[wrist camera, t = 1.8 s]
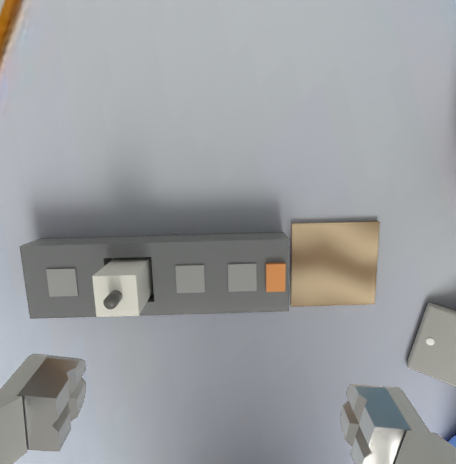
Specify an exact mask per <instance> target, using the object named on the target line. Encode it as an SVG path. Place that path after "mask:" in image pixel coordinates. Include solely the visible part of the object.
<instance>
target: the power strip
mask: <svg viewBox="0 0 456 464" xmlns="http://www.w3.org/2000/svg"><path fill="white" fill-rule="evenodd" d="M20 252H21V259H22V265H23V272H24V279H25V286H26V293H27V300H28V307H29V314H30V319H33V318H68V317H96V308H95V299H94V289H93V279H92V276H93V275H94V274H96V273H97V272H98V271H99V270H100V269H102V268H103V267H104V266H105V265H106V264H108V263H109V262H110V261H111V260H113V259H114V258H131V257H151V260H152V275H153V289H154V291H153V292H152V294H151V296H150V298H149V299H148V301H147V303H146V305H145V306H144V308H143V310H142V312H141V313H140V315H173V314H208V313H244V312H279V311H289V238H288V237H287V236H286V235H285V234H284V233H283V232H270V233H232V234H194V235H156V236H118V237H80V238H42V239H38V240H35V241H33V242H30V243H27V244H25V245H22V246H20Z"/></svg>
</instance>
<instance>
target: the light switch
mask: <svg viewBox="0 0 456 464" xmlns="http://www.w3.org/2000/svg"><path fill="white" fill-rule="evenodd" d="M407 367H409V368H411V369H413V370H415V371H418V372H420V373H423V374H425V375H428V376H430V377H433V378H435V379H437V380H440V381H442V382H445V383H447V384H450V385H452V386H455V387H456V311H454V310H451V309H448V308H445V307H442V306H439V305H436V304H433V303H428V304H427V307H426V310H425V312H424V315H423V318H422V321H421V324H420V327H419V329H418V332H417V335H416V338H415V341H414V344H413V346H412V349H411V352H410V355H409V358H408V361H407Z"/></svg>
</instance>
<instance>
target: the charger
mask: <svg viewBox="0 0 456 464" xmlns="http://www.w3.org/2000/svg"><path fill="white" fill-rule="evenodd" d="M92 279H93V289H94V299H95V308H96V317H114V316H139V315H140V313H141V312H142V310H143V308H144V306H145V305H146V303H147V301H148V299H149V298H150V296H151V294H152V292H153V291H154V289H153V275H152V260H151V257H131V258H114V259H113V260H111V261H110V262H109V263H108V264H106V265H105V266H104V267H103V268H102V269H100V270H99V271H98V272H97V273H96V274H94V275H93V276H92Z"/></svg>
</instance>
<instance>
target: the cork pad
mask: <svg viewBox="0 0 456 464" xmlns="http://www.w3.org/2000/svg"><path fill="white" fill-rule="evenodd" d="M379 224H380V222H379V221H365V222H327V223H291V307H295V306H330V305H365V304H375V290H376V273H377V257H378V240H379Z"/></svg>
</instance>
